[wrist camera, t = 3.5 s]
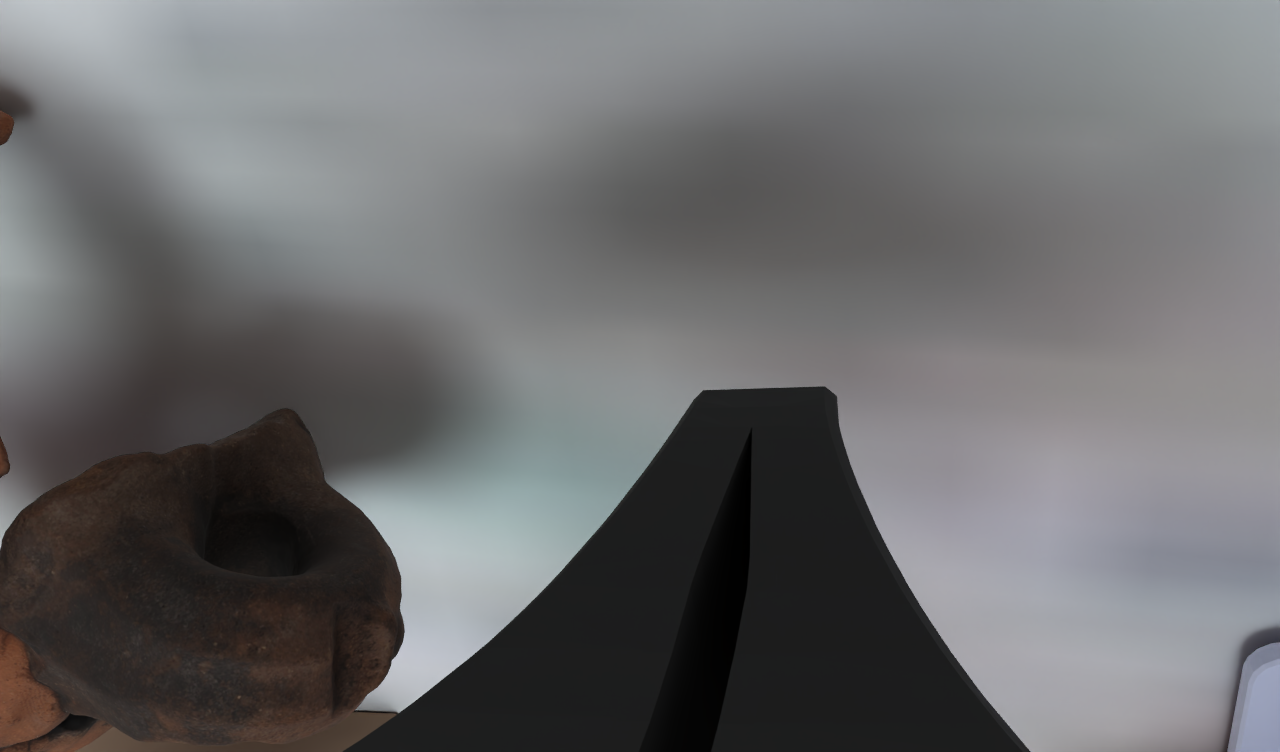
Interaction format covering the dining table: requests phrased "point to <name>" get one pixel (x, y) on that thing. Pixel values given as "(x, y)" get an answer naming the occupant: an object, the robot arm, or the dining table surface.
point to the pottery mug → (193, 597)
